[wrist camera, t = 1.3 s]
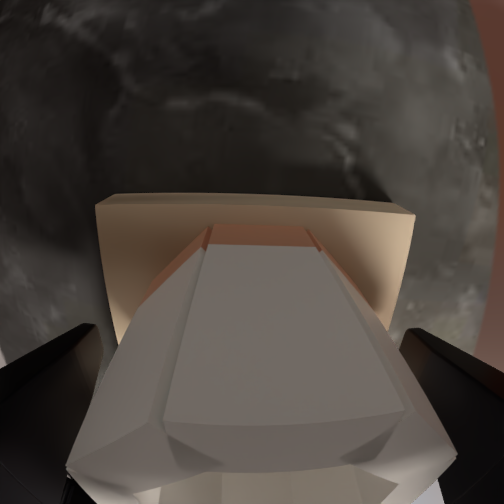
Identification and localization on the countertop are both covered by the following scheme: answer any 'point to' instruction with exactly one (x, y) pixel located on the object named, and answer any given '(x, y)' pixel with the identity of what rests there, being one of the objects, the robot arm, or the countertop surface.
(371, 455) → the sleeve
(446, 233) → the countertop surface
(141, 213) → the pin board
